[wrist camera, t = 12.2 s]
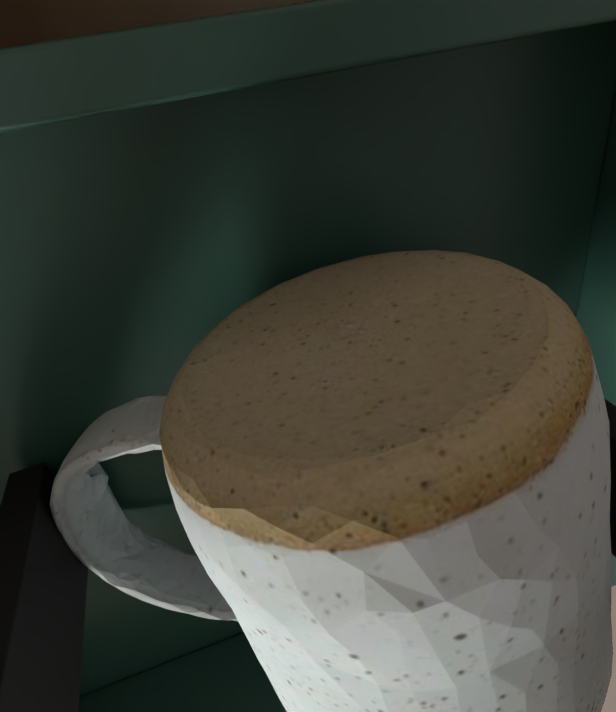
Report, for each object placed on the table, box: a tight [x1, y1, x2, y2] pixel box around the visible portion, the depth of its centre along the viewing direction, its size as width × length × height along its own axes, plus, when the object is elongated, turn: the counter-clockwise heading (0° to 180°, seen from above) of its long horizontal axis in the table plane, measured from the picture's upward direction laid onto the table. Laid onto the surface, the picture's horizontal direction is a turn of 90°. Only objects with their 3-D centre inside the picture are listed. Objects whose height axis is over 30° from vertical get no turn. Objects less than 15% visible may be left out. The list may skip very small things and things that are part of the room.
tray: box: [0, 0, 616, 712], centre depth 12 cm, size 20×18×4 cm
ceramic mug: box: [50, 250, 613, 712], centre depth 10 cm, size 11×8×8 cm
